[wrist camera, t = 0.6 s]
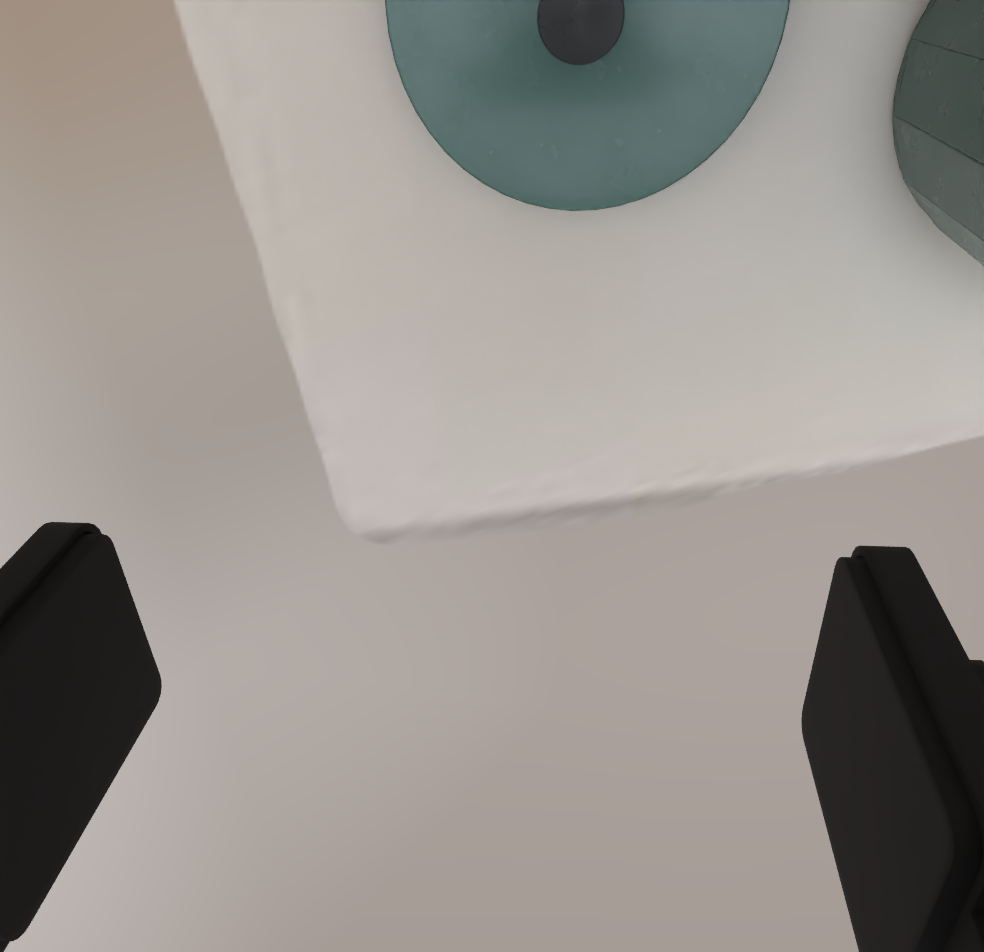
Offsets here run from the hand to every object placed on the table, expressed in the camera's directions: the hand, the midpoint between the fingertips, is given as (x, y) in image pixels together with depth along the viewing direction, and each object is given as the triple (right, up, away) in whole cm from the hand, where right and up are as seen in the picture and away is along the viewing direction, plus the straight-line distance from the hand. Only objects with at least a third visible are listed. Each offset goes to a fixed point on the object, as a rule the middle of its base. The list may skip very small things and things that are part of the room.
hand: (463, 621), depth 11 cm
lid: (+4, +18, +18) cm, 26 cm away
